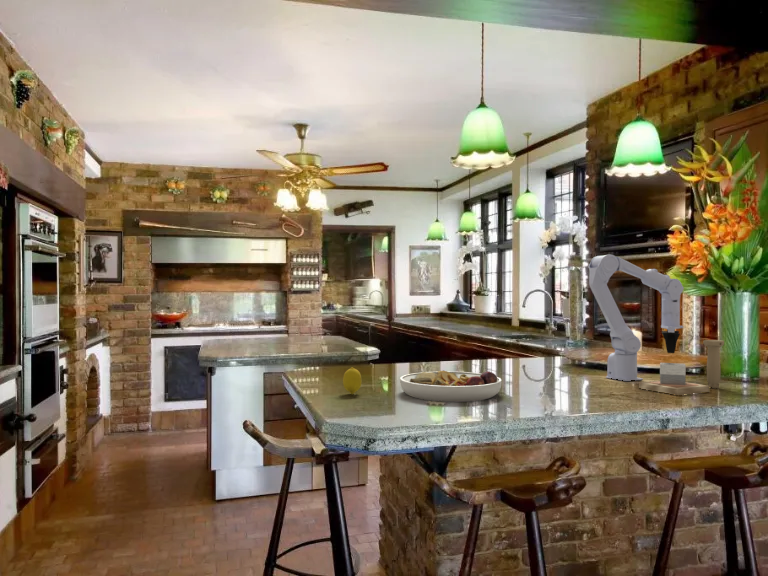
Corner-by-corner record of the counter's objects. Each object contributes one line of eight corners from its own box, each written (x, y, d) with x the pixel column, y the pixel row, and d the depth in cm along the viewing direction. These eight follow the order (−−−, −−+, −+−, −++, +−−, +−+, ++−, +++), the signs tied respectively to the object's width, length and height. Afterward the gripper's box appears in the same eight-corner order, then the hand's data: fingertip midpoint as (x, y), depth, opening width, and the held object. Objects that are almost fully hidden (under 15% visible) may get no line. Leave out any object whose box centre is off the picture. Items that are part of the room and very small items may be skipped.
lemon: (359, 396, 177) (359, 368, 177) (340, 395, 178) (340, 368, 178) (363, 393, 183) (363, 366, 183) (345, 392, 184) (345, 365, 184)
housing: (685, 385, 185) (685, 365, 185) (660, 383, 188) (660, 364, 188) (684, 383, 189) (684, 363, 189) (660, 381, 192) (660, 362, 192)
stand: (638, 388, 191) (638, 381, 191) (669, 385, 197) (669, 378, 197) (677, 395, 179) (677, 388, 179) (709, 392, 185) (709, 385, 185)
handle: (727, 388, 192) (727, 340, 192) (713, 389, 190) (713, 341, 190) (713, 386, 197) (713, 339, 197) (699, 387, 194) (699, 340, 194)
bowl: (382, 398, 175) (382, 371, 175) (425, 384, 202) (425, 360, 202) (481, 408, 161) (481, 378, 161) (514, 391, 188) (514, 366, 188)
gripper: (684, 314, 204) (684, 354, 204) (682, 312, 217) (682, 350, 217) (661, 313, 207) (661, 353, 207) (660, 312, 220) (660, 349, 220)
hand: (670, 352), depth 212 cm, fingers open, 7 cm apart
